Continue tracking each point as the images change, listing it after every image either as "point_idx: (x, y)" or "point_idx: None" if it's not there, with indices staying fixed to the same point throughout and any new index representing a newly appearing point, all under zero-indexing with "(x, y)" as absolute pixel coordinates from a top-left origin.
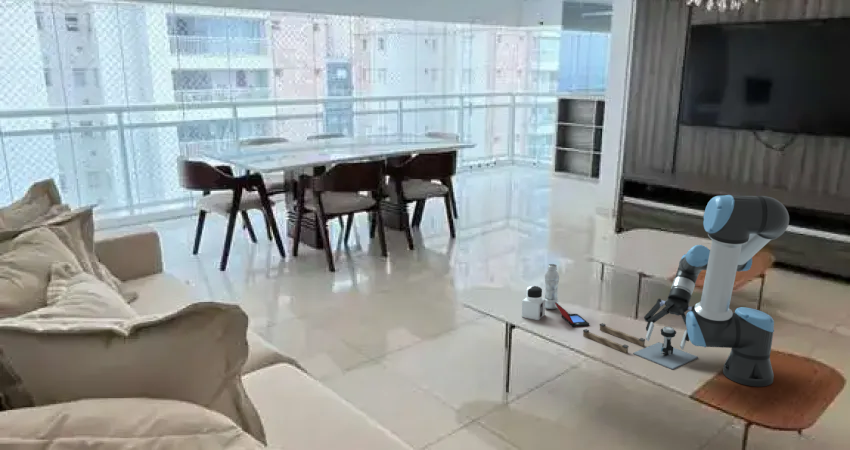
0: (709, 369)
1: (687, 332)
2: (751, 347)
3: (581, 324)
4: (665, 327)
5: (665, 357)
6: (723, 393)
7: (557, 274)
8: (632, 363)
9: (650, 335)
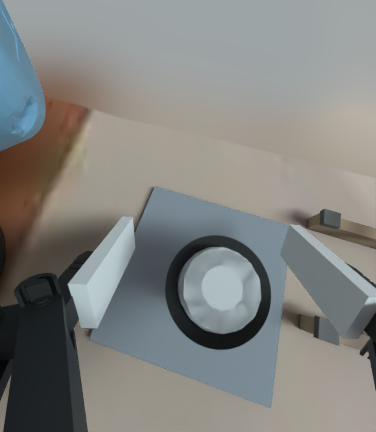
0: (50, 254)
1: (35, 90)
2: None
3: None
4: (248, 291)
5: None
6: None
7: None
8: (258, 167)
9: (295, 268)
